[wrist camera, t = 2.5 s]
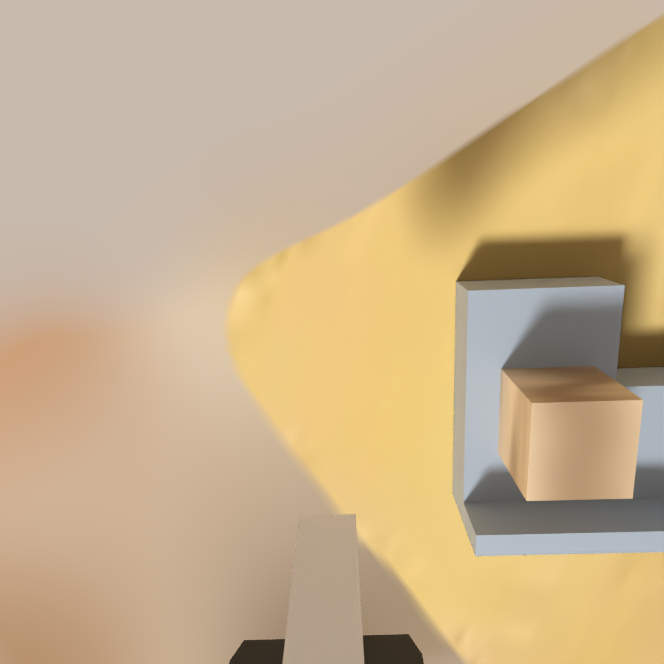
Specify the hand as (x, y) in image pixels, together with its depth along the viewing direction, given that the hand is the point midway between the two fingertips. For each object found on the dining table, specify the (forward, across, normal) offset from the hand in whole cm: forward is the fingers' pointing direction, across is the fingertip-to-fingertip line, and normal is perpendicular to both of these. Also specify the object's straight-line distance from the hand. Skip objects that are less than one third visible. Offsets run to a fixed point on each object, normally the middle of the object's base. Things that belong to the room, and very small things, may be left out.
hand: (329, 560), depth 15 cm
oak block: (+10, -9, 0) cm, 14 cm away
